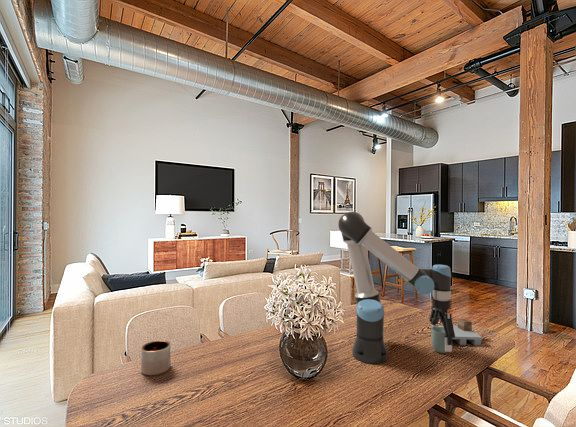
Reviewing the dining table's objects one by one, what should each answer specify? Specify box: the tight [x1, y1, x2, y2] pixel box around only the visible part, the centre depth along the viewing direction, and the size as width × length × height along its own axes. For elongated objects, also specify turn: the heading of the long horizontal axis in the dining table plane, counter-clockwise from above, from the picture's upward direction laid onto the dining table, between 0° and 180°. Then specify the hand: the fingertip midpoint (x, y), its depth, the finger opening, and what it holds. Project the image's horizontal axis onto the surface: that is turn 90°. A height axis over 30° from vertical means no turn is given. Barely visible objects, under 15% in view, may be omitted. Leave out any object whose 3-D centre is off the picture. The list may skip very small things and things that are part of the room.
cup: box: [430, 326, 447, 354], centre depth 144 cm, size 8×8×10 cm
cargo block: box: [457, 318, 473, 331], centre depth 160 cm, size 4×4×4 cm
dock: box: [438, 325, 483, 346], centre depth 157 cm, size 18×14×4 cm
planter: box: [140, 339, 171, 377], centre depth 125 cm, size 11×11×10 cm
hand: (441, 344), depth 144 cm, fingers open, 13 cm apart
